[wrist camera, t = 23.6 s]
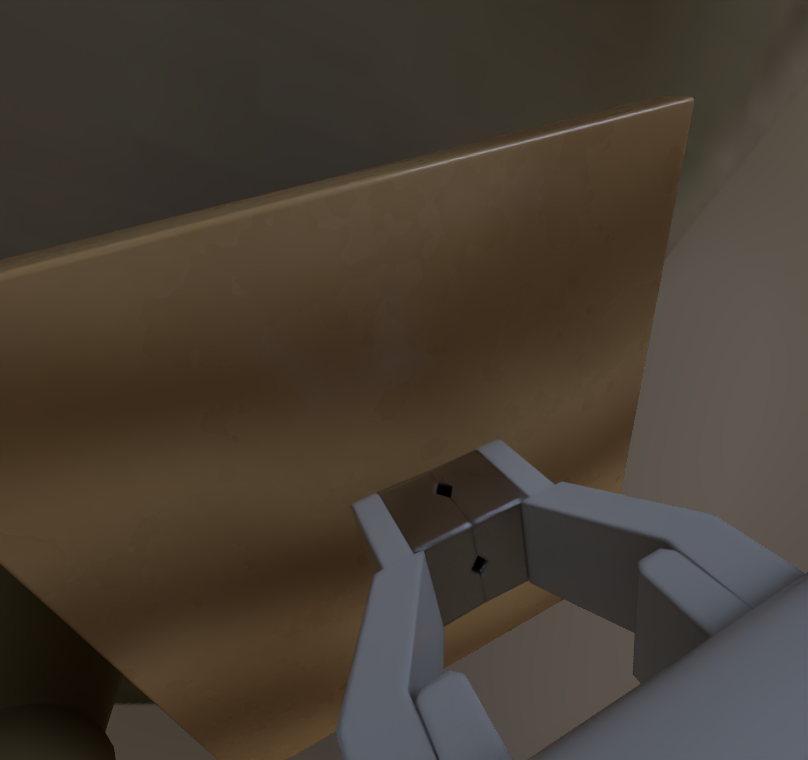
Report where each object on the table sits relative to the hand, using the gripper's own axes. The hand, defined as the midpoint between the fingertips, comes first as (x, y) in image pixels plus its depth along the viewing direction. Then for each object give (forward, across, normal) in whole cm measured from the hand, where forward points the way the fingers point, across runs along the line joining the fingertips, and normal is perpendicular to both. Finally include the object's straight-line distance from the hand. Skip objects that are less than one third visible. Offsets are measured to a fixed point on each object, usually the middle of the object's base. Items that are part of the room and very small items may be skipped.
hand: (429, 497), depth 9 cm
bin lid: (+2, 0, +2) cm, 3 cm away
